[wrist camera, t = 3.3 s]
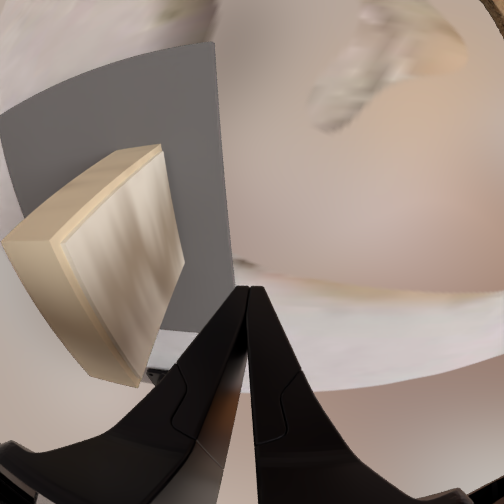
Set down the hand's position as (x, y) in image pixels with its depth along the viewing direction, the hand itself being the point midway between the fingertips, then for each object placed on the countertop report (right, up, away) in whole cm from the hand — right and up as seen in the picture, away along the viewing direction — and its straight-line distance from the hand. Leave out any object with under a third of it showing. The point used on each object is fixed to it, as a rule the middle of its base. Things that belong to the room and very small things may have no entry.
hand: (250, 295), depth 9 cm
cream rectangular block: (-5, +4, +5) cm, 8 cm away
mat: (-9, +3, +7) cm, 11 cm away
